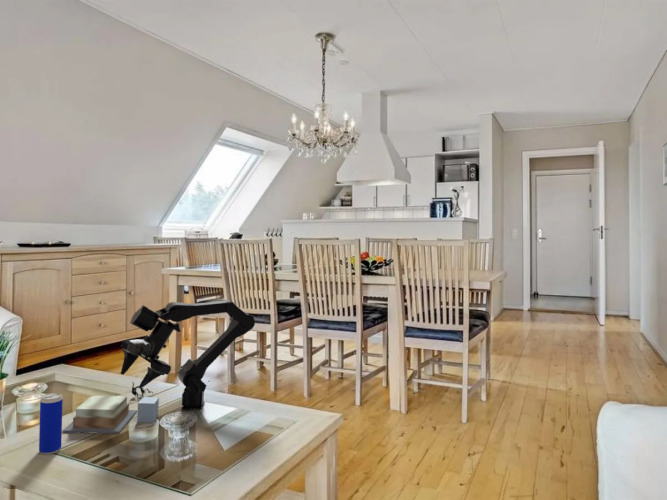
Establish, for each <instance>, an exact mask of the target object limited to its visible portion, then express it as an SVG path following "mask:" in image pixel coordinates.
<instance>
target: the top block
mask: <svg viewBox="0 0 667 500" xmlns="http://www.w3.org/2000/svg"><path fill="white" fill-rule="evenodd" d="M159 403H160V397H150V396H149V397H147V396H146V397H145V396H144V397H142V398H140V400H139V401H138V402H137V415H136V416H137V419H136V420H137V421H136V422H137V423H154V422H155V421H156V419H157V418H158V416H159Z"/></svg>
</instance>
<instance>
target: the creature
mask: <svg viewBox="0 0 667 500" xmlns="http://www.w3.org/2000/svg"><path fill="white" fill-rule="evenodd" d="M131 383H132V386H131V394H132V395H133V396H135V397H137V399H139V395H141V397H142V398H143V397H145V395H144V394H146V391H148V393H149V394H150V393H152V394H154V392H153V391H152V390H150V389H148V388H145V387H144V388H143V387H142V388H139V386H140V385H137V386H135V383H134V381H132V382H131ZM137 389H140V392H141V394H140V393H138V392H137Z"/></svg>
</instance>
